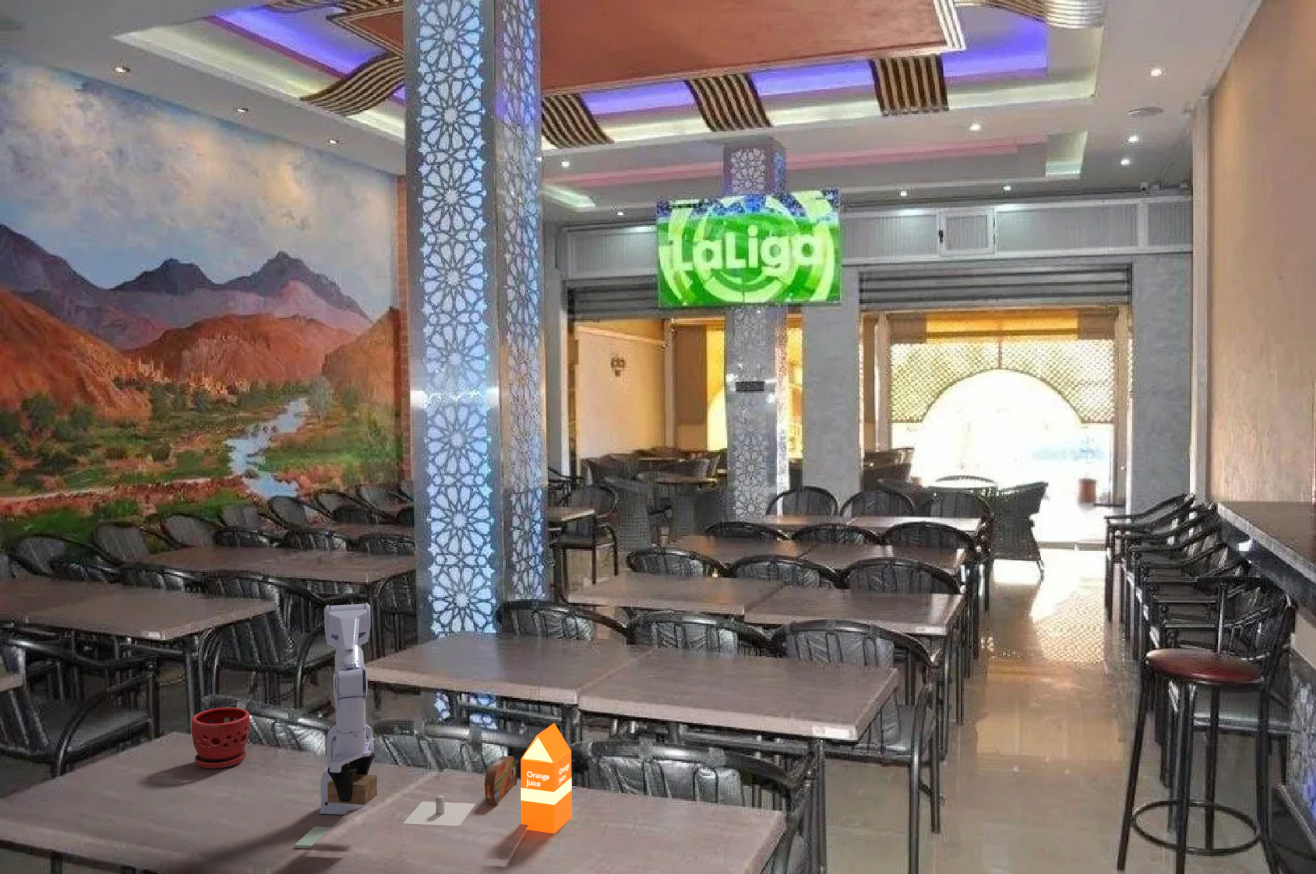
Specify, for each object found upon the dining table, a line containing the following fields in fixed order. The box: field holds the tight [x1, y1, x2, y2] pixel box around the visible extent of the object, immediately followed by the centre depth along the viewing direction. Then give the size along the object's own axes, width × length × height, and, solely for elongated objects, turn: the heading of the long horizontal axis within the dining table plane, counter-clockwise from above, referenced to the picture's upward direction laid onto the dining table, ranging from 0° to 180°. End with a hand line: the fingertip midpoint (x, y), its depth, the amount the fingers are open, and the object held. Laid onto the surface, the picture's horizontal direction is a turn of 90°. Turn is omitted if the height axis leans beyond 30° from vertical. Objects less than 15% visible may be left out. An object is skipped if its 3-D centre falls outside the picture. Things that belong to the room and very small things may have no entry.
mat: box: [294, 826, 332, 849], centre depth 214 cm, size 18×9×1 cm, turn 83°
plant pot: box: [191, 707, 251, 769], centre depth 259 cm, size 13×13×12 cm
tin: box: [483, 755, 518, 806], centre depth 236 cm, size 15×3×8 cm, turn 168°
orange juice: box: [520, 722, 573, 834], centre depth 222 cm, size 8×9×20 cm
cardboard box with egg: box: [327, 774, 378, 806], centre depth 214 cm, size 5×8×4 cm
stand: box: [402, 795, 476, 827], centre depth 225 cm, size 12×12×4 cm
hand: (352, 795), depth 214 cm, fingers closed on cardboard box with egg, 5 cm apart
